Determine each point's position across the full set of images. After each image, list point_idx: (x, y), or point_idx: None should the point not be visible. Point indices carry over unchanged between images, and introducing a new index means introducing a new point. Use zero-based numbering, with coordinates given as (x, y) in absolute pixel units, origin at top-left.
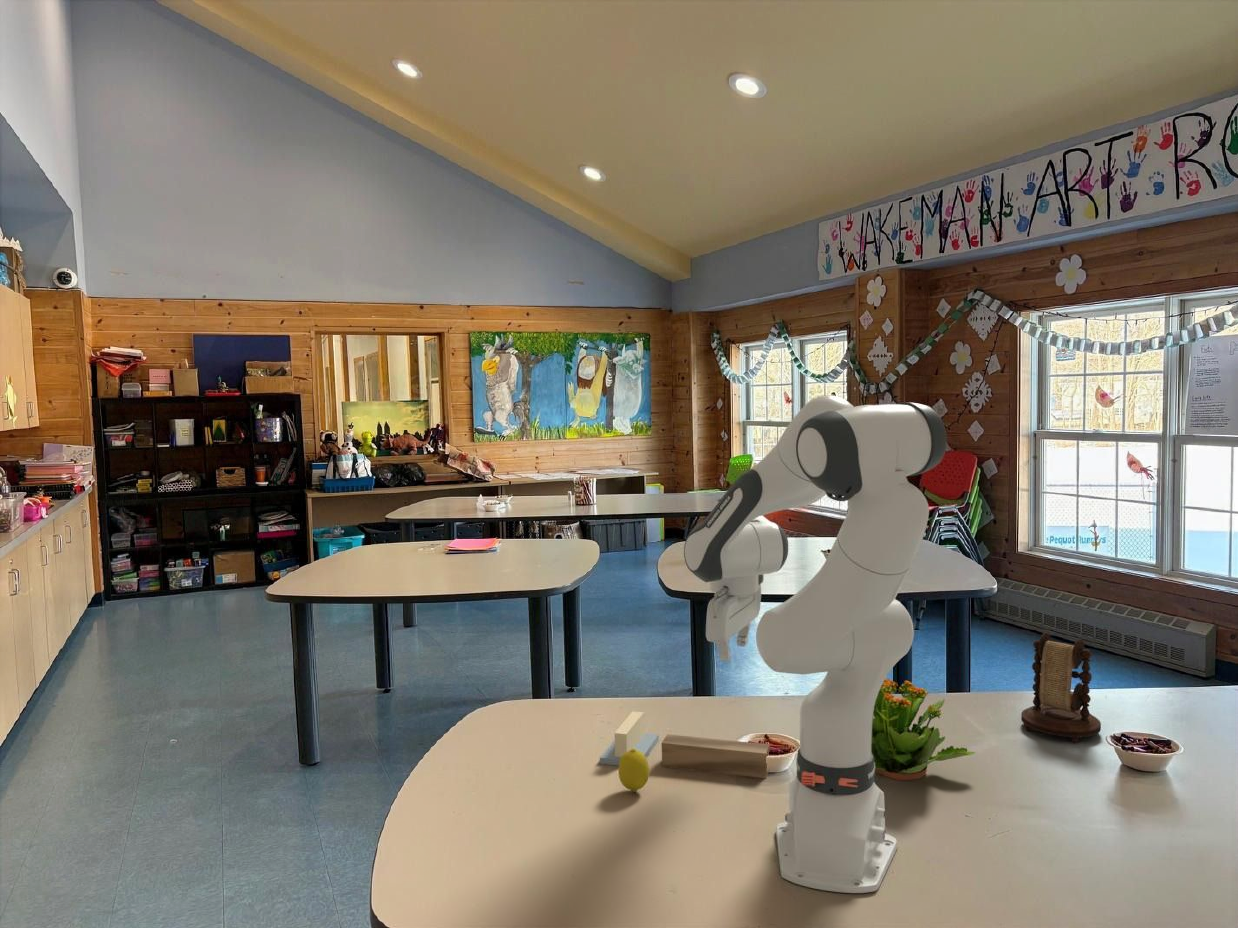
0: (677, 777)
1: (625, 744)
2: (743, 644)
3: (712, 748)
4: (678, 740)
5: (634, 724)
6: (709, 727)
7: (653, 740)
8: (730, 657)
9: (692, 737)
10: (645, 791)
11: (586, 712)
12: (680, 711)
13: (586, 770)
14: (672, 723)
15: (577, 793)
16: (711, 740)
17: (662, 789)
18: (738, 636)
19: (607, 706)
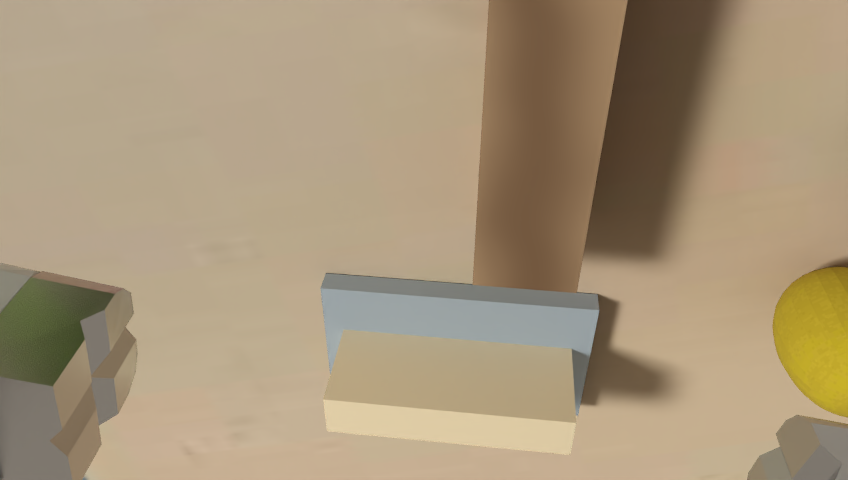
0: (675, 158)
1: (573, 391)
2: (120, 318)
3: (614, 72)
4: (536, 235)
5: (459, 410)
6: (111, 113)
7: (383, 295)
8: (825, 426)
9: (487, 184)
10: (814, 246)
11: (191, 477)
12: (15, 243)
13: (636, 420)
14: (146, 252)
15: (819, 416)
16: (509, 93)
17: (797, 194)
18: (35, 470)
19: (114, 440)
